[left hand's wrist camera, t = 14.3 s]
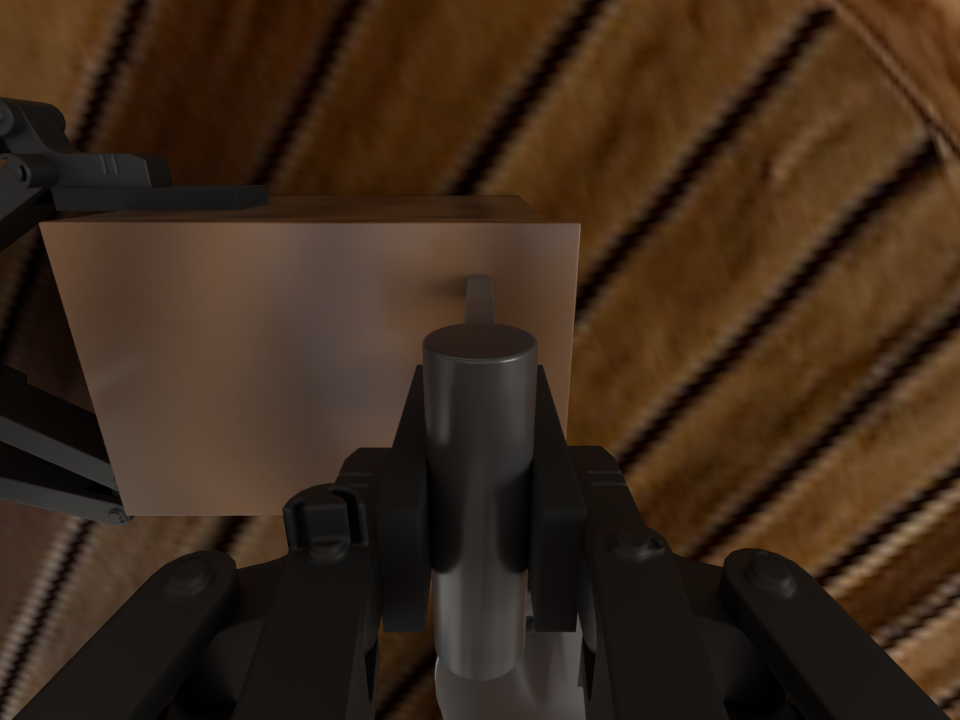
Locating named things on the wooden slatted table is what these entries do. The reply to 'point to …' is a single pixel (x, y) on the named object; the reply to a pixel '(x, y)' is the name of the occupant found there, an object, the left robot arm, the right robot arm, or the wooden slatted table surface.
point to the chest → (358, 208)
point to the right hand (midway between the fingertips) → (274, 334)
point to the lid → (332, 375)
